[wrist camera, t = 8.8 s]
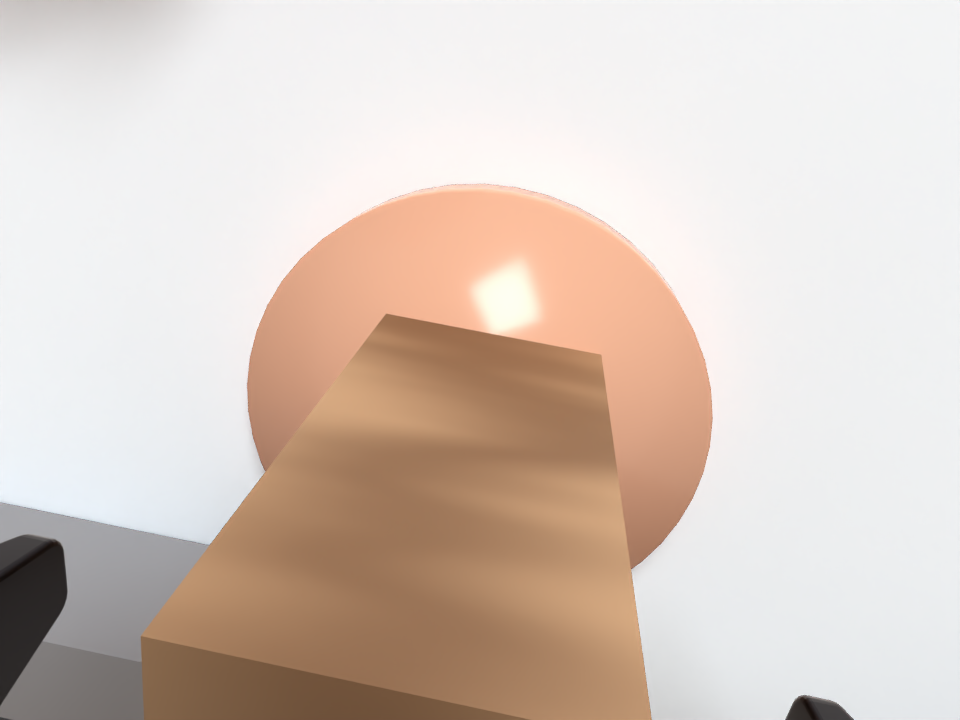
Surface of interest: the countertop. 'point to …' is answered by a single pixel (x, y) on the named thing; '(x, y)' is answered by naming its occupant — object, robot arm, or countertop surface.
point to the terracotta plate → (500, 324)
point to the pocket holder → (95, 617)
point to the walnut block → (420, 551)
